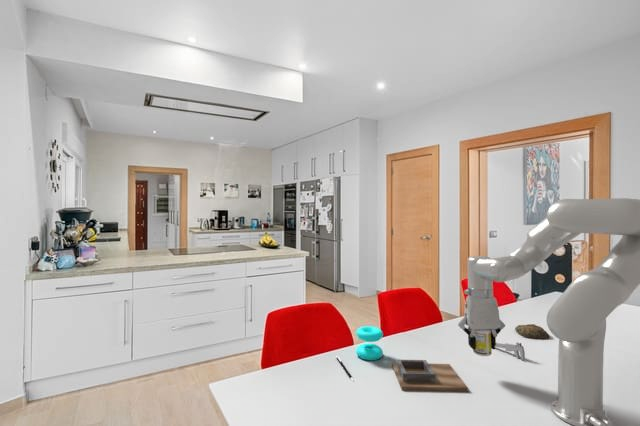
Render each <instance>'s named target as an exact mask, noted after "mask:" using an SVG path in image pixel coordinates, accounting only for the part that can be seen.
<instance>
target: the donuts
mask: <svg viewBox="0 0 640 426" xmlns="http://www.w3.org/2000/svg"><path fill="white" fill-rule="evenodd" d="M356 336H357V337H358V339H359V340H360V341H364V342H368V343H362V344H360V345H358V346H357V348H356V350H355V352H356V355H357V356H358V357H359V358H360V359H363V360H365V361H366V360H367V361H377V360H379V359H381V358H382V356H383V354H384V352H383V349H382V348H381V346H379V345H377V344H375V343H373V342H378V341H380V340H381V339H382V338H383V337H384V333H383V331H382V330H381V328H379V327H377V326H371V325H366V326H365V325H364V326H360V327H358V328H357V329H356Z"/></svg>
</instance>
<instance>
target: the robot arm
mask: <svg viewBox="0 0 640 426" xmlns="http://www.w3.org/2000/svg"><path fill="white" fill-rule="evenodd" d="M581 234H594V235H595V234H596V235H614V236H622V237H621V238H620V240H619V241H618V242H617V243H616V244H615V245H614V246H613V248H612V249H610V251H609V252H608V253H607V255H606V256H605V257H604V258H603V260H602V261H601V262H600V263H599V264H598V265H597V266H596V267H595V268H594V267H593V269H591V270H588V271H585V272H582V273H581V274H579V275H578V276H577V277H575V278H574V280H572V281H571V282H570V284H569V285H568V286H567V287H566V289H565V290H564V291H563V292H562V293H561V295H560V296H559V297H558V299H557V300H556V301H555V302H554V304H552V306H551V307H550V309H548V311H547V314H546V326H547V328H548V330H549V332H551V334H552V335H553V336H554V337H555V338H557V339H558V357H557V358H558V363H557V364H558V367H557V371H558V372H557V374H558V375H557V378H558V379H557V380H558V381H557V399H555V400H553V401H552V402H551V403H550V408H551V412H552V413H553V414H554V415H555V416H557V418H559V419H560V420H561V421H564V422H565V423H567V424H570V425H572V426H613V424H612V422H611V419H610V417H609V416H607V414H606V410H605V409H604V407H603V406H604V404H603V403H604V354H605V353H604V352H605V351H604V349H605V339H606V331H607V318H608V317H609V316H610V315H611V313H613V312H614V310H616V308H618V307H620V306H621V305H623V304H625V303H626V301H627V300H629V299H630V297H631V296H632V294H633V293H634V292H635V290H636V289H637V288H638V287H639V285H640V198H637V199H636V198H624V197H623V198H622V197H621V198H619V197H618V198H563V199H560V200H559V199H558V200H557V201H555V202H554V203H552V204H551V205H550V206H549V208H548V210H547V212H546V217H545V218H543V219H542V220H541V221H540V222H538V223H537V224H536V225H535V226H533V227H532V228H530V229H529V230H528V231H527V233H526V240H525V242H524V243H523V244H522V245H521V246H519V247H518V248H517V249H516V250H514V251H513V252H512V253H511V254H508V255H507V256H506V255H505V256H501V257H496V258H495V257H492V258H490V256H486V255H471V256H469V257H468V258H467V262H466V264H467V289H464V290H463V293H464V295H467V296H466V298H465V304H464V312H463V313H464V315H463V317H462V319H461V320H460V322H458V323H457V326H458V327H459V328H460V329H461V330H463V332H465V333H466V334H467V338H468V339H467V340H468V341H467V342H468V346H469V347H470V348H471V349H472V350H473V349H476V342H475V337H474V333H475V330H476V329H490V330H491V350H496V347H495V346H496V343H497V341H496V340H497V337H498V334H499V333H500V332H501V331H502V330H503V329H504V328H505V327H506V323H504V321H502V320H501V319H500V310H499V305H498V301H497V298H496V297H494V284H493V283H494V282H495V283H504V282H508V281H511V280H517V279H519V278H521V277H523V276H525V275H526V274H528V273H529V272H531V271H533V270H534V269H536V268H537V267H538V266H539V265H541V264H542V263H543V262H544V261H545V260H546V259H548V258H549V257H550V256H551V255H552V254H554V253H555V252H556V251H557V250H559V249H561V248H562V247H563V246H564V245H566V244H568V243H569V242H570V241H572V240H573V239H575V238H576V237H578V236H579V235H581ZM465 325H466V326H467V327H466V326H465Z"/></svg>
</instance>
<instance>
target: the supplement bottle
mask: <svg viewBox="0 0 640 426" xmlns="http://www.w3.org/2000/svg"><path fill="white" fill-rule="evenodd" d="M474 337H475V342H476V349H472V351H473V353H474V354H475V355H476V356H479V357H489V356H491V355H492V354H493V353H492V350H493V349H492V348H491V330H490V329H476V330H475V333H474Z"/></svg>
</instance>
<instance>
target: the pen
mask: <svg viewBox="0 0 640 426" xmlns="http://www.w3.org/2000/svg"><path fill="white" fill-rule="evenodd" d="M335 359H336V361H337V362H338V364H339V365H340V366H341V367H343V368H342V369H343V370H344V372H345V374H346V375H347V376H348V378H349V379H350V380H351V381H352V382H354V377H353V376H352V375H351V373H350V371H349V370H348V369H347V367H346V366H345V365H344V363H343V361H342V360H341V358H340V357H339V356H338V355H336V356H335Z"/></svg>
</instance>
